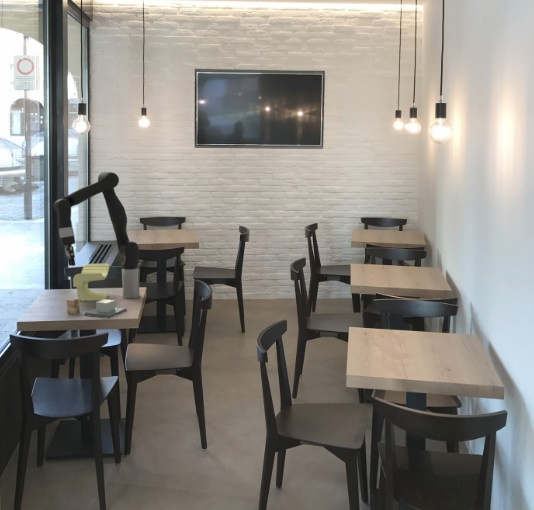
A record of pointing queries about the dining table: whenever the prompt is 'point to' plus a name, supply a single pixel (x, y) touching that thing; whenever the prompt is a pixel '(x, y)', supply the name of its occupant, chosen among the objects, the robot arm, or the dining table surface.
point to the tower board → (103, 314)
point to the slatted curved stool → (87, 275)
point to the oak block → (73, 305)
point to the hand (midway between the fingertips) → (72, 265)
